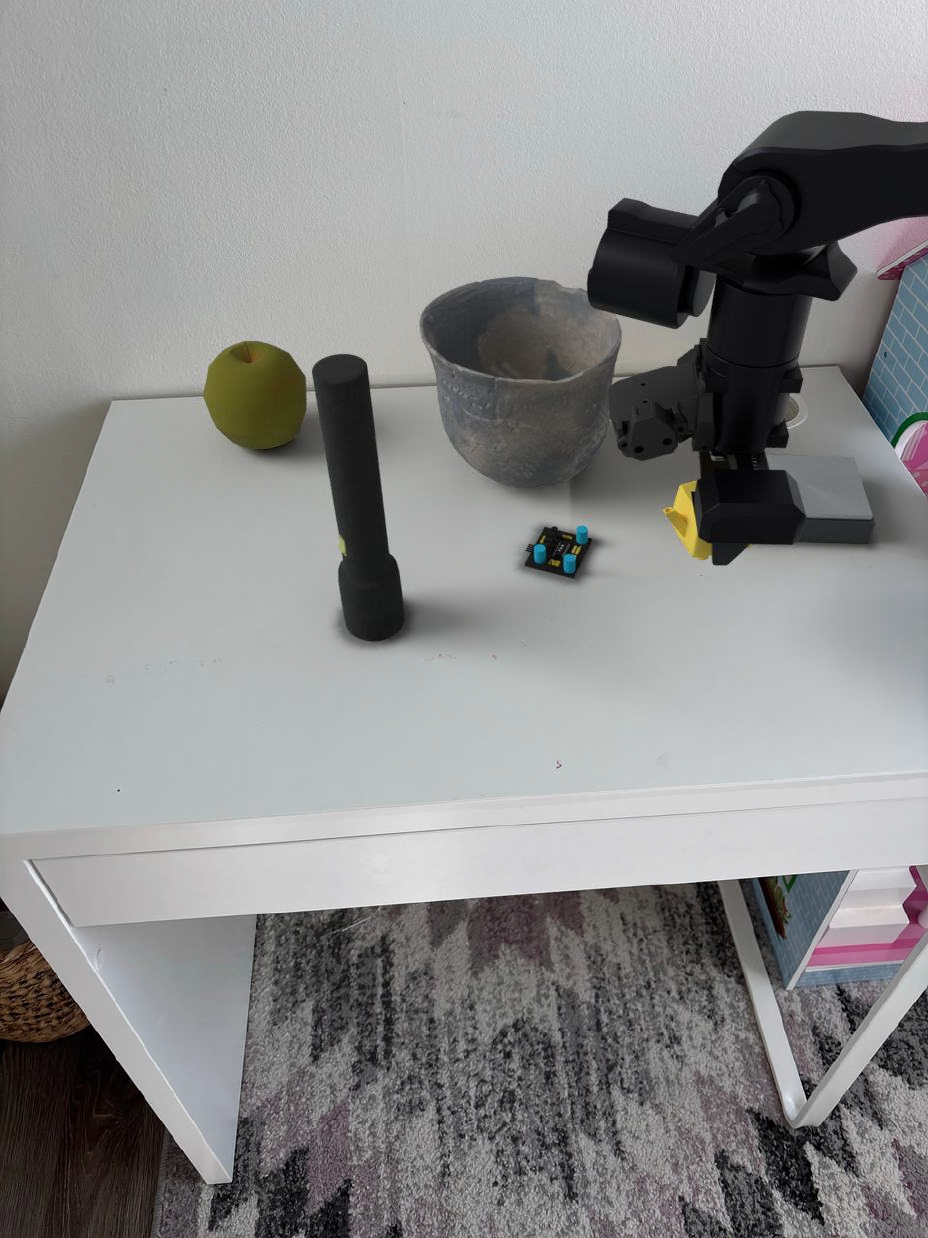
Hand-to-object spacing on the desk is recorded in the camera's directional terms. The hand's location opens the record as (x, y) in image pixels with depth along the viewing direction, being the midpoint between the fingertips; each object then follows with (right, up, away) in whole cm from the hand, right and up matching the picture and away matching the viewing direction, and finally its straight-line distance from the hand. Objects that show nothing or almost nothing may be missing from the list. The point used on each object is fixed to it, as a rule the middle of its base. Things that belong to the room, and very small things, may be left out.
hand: (714, 534), depth 71 cm
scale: (+12, +4, +18) cm, 22 cm away
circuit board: (-10, 0, +15) cm, 18 cm away
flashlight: (-26, -6, +10) cm, 29 cm away
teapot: (0, -1, +1) cm, 1 cm away
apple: (-39, +12, +28) cm, 50 cm away
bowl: (-13, +9, +24) cm, 29 cm away
